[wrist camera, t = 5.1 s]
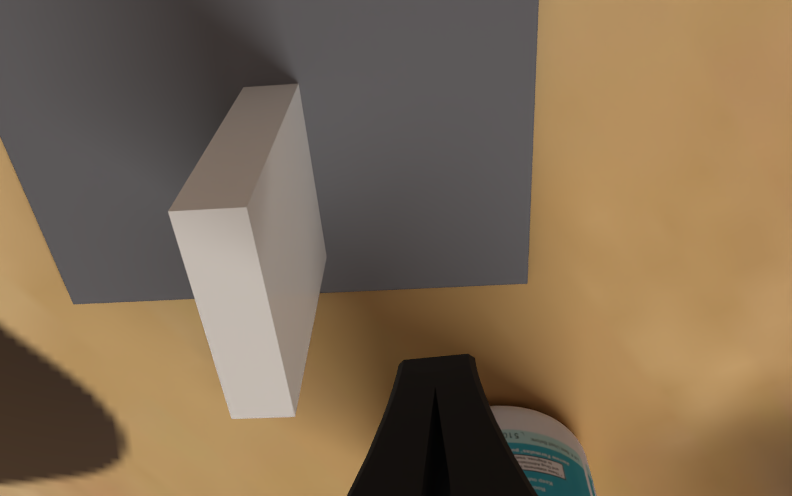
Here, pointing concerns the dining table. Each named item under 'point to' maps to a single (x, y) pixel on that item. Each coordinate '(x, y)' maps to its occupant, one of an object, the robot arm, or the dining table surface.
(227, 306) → the tile
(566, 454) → the pill bottle
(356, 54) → the mat
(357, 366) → the dining table surface
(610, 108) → the dining table surface
